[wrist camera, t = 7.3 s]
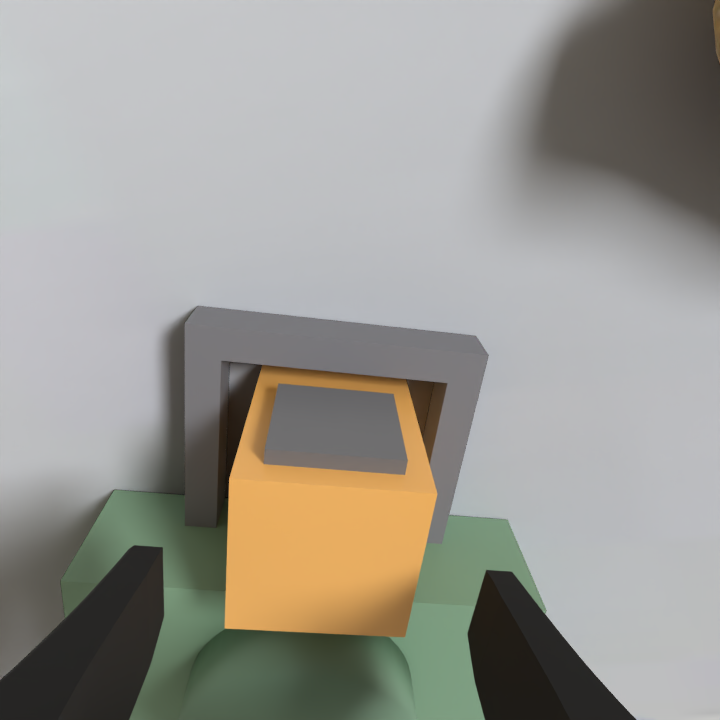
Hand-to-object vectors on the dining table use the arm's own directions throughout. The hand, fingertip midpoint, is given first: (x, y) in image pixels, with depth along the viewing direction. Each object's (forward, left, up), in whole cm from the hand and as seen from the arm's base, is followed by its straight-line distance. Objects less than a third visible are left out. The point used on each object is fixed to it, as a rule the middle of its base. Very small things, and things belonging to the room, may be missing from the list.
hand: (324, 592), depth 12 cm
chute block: (0, 0, -7) cm, 7 cm away
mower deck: (-3, 0, -6) cm, 7 cm away
